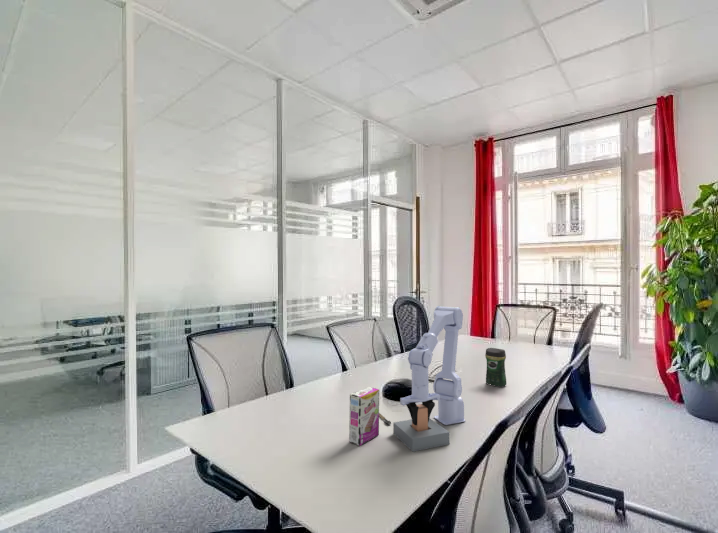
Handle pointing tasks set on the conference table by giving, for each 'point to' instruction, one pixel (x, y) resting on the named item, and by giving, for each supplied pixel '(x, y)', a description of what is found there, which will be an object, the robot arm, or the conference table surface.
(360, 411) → the candy bar box
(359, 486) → the conference table surface
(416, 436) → the socket block
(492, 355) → the coffee jar
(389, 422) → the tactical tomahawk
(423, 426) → the peg
